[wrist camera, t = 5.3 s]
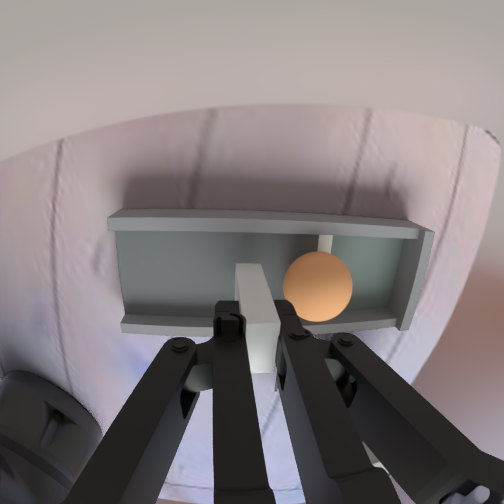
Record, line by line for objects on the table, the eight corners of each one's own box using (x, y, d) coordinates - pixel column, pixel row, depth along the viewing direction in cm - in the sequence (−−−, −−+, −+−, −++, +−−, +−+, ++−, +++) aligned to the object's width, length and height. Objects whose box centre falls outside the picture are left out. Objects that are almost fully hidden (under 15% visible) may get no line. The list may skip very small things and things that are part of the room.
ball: (360, 320, 18) (316, 295, 21) (371, 258, 16) (322, 238, 20) (310, 344, 16) (268, 310, 19) (319, 273, 14) (270, 248, 18)
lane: (131, 312, 21) (119, 338, 18) (121, 209, 18) (103, 220, 15) (388, 309, 24) (408, 329, 20) (408, 220, 21) (434, 232, 18)
